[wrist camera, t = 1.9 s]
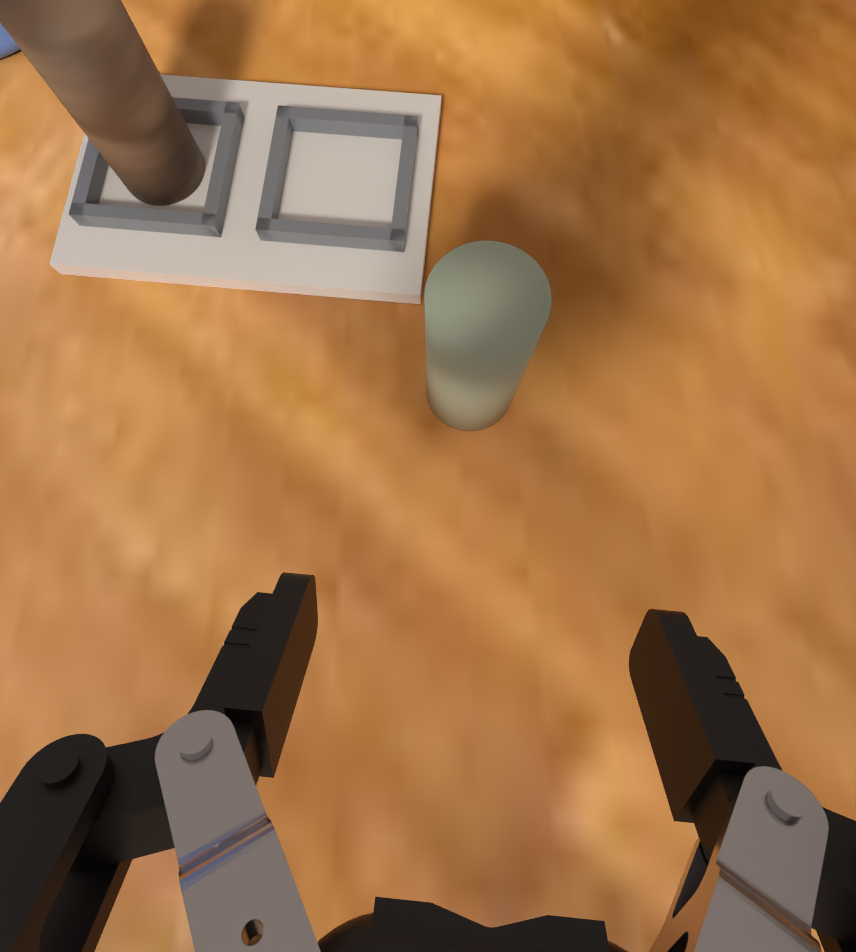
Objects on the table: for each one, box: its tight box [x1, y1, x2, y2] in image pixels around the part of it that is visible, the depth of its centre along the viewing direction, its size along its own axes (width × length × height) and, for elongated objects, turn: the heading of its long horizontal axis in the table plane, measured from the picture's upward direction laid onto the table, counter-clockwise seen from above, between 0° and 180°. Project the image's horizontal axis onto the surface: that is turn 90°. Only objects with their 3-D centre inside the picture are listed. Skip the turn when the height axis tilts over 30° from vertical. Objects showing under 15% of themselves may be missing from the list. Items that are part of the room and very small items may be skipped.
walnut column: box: [0, 0, 205, 206], centre depth 27 cm, size 5×5×10 cm
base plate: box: [50, 75, 441, 304], centre depth 32 cm, size 22×14×2 cm, turn 85°
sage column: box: [424, 241, 552, 431], centre depth 26 cm, size 5×5×10 cm
